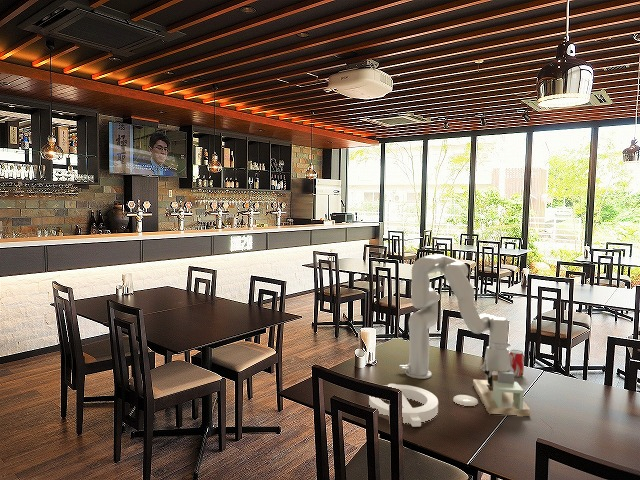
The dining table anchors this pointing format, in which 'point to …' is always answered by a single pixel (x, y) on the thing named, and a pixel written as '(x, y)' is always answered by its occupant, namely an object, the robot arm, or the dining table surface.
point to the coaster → (465, 400)
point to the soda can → (517, 362)
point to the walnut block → (494, 379)
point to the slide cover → (507, 389)
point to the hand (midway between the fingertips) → (496, 384)
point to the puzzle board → (507, 401)
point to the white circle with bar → (409, 413)
